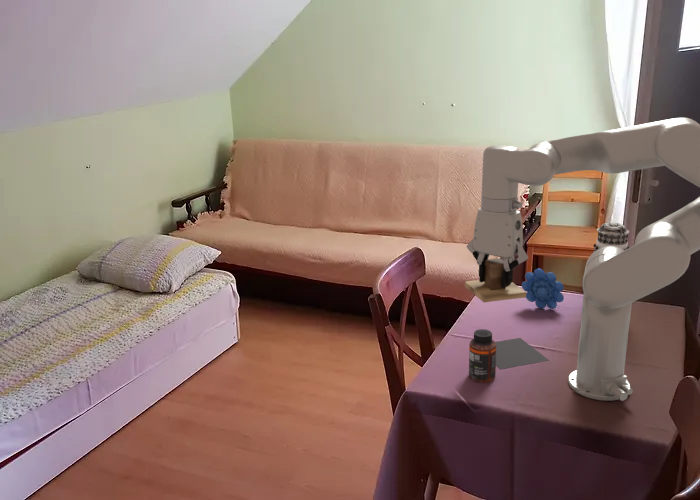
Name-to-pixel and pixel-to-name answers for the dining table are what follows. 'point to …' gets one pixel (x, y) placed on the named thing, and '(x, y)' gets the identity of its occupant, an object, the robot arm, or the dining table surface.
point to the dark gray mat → (516, 354)
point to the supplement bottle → (482, 357)
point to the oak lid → (494, 284)
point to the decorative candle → (612, 236)
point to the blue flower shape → (543, 289)
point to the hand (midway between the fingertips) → (494, 282)
